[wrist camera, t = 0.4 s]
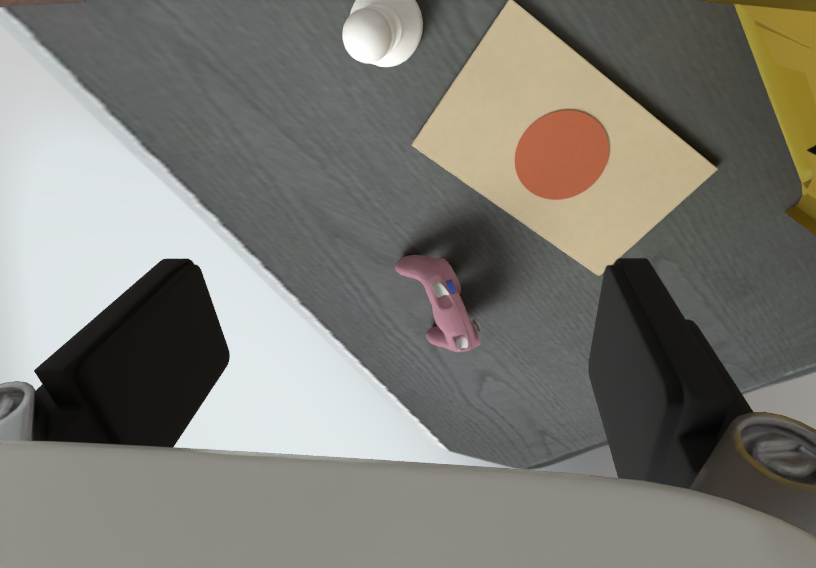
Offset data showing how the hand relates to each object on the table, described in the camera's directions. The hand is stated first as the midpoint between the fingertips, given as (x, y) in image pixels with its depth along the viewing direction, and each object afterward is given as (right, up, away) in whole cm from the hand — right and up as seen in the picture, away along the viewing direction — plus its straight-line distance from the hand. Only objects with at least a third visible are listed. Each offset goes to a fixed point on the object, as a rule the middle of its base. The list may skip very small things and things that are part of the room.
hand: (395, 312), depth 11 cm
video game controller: (+3, 0, +34) cm, 34 cm away
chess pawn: (-1, +19, +23) cm, 30 cm away
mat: (+12, +11, +26) cm, 31 cm away
